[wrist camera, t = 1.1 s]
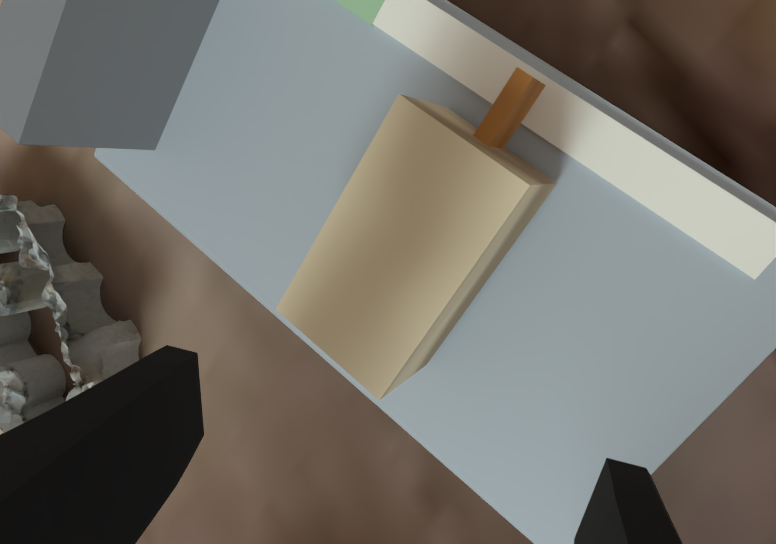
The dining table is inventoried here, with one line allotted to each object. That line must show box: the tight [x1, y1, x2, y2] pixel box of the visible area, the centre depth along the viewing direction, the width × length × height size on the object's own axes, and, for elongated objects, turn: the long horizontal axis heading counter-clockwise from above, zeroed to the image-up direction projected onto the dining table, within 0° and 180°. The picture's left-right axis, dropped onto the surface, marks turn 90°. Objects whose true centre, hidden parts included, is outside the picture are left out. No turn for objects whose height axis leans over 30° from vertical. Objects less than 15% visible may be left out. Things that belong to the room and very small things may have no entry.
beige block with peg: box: [276, 67, 557, 400], centre depth 17 cm, size 4×9×4 cm, turn 146°
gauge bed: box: [0, 0, 776, 544], centre depth 18 cm, size 23×12×7 cm, turn 56°
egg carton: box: [0, 194, 141, 433], centre depth 28 cm, size 11×8×4 cm
